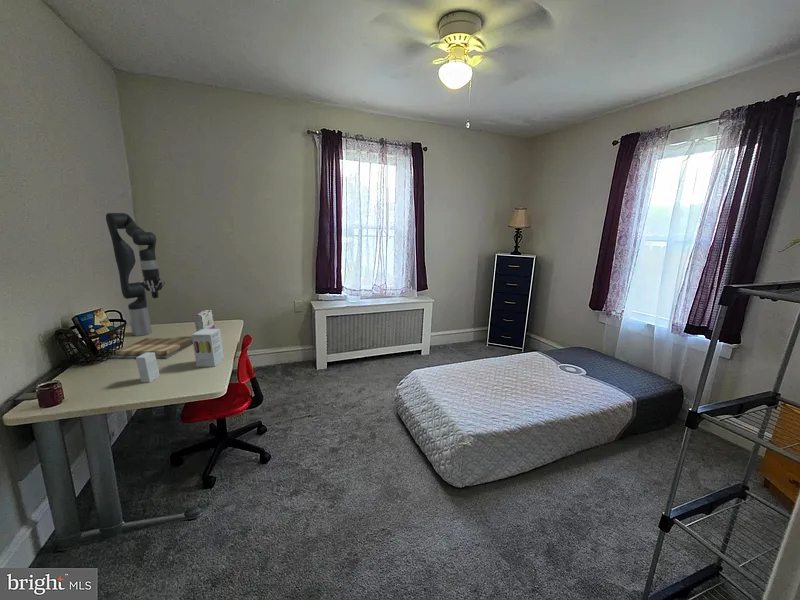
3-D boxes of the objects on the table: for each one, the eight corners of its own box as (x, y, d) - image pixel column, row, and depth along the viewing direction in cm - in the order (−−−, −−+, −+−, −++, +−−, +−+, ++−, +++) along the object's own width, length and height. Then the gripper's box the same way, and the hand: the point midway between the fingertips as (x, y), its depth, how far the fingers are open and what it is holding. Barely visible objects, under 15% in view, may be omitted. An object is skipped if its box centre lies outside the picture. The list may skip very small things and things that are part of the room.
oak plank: (116, 354, 175) (115, 351, 175) (131, 347, 185) (131, 344, 185) (167, 354, 174) (166, 351, 174) (180, 348, 184) (179, 344, 183)
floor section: (110, 358, 173) (109, 353, 172) (146, 342, 196) (145, 337, 196) (166, 358, 172) (165, 353, 171) (195, 342, 195) (194, 337, 195)
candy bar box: (208, 335, 208) (204, 309, 205) (216, 335, 208) (212, 309, 205) (197, 341, 198) (193, 314, 194) (205, 341, 197) (201, 314, 194)
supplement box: (195, 367, 161) (190, 334, 158) (206, 359, 170) (201, 328, 167) (215, 366, 162) (210, 334, 158) (225, 359, 171) (220, 328, 167)
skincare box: (151, 376, 152) (146, 352, 149) (160, 376, 152) (155, 352, 149) (140, 382, 146) (135, 357, 144) (149, 382, 146) (144, 357, 143)
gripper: (166, 267, 190) (171, 296, 194) (143, 267, 191) (149, 296, 195) (156, 269, 183) (161, 299, 187) (133, 269, 183) (139, 299, 187)
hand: (155, 297), depth 191 cm, fingers closed
